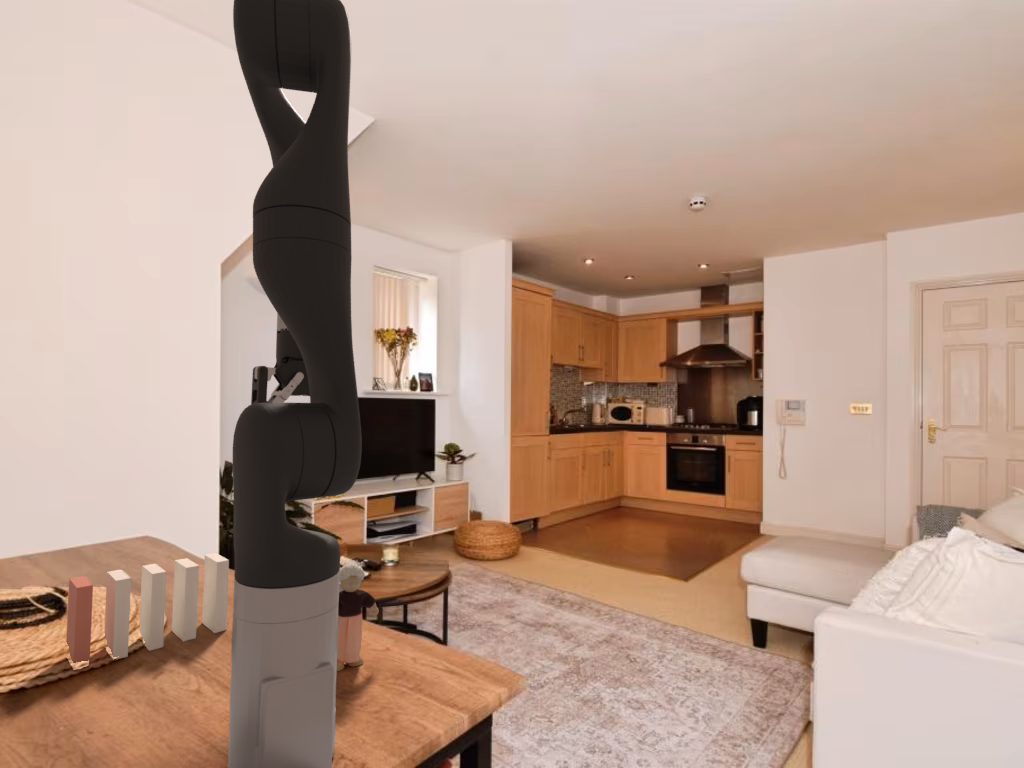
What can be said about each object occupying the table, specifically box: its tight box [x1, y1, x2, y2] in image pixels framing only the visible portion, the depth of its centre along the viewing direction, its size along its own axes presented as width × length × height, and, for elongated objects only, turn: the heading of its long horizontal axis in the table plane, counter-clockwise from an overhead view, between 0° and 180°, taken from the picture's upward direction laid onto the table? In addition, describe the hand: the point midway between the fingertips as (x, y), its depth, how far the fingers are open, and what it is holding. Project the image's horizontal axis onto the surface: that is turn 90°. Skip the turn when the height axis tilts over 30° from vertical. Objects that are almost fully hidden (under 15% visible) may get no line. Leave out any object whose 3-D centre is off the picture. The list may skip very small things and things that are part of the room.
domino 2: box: [103, 569, 132, 660], centre depth 73 cm, size 5×2×10 cm, turn 47°
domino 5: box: [201, 552, 230, 634], centre depth 82 cm, size 5×2×10 cm, turn 47°
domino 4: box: [171, 557, 200, 642], centre depth 79 cm, size 5×2×10 cm, turn 47°
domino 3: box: [138, 563, 167, 651], centre depth 76 cm, size 5×2×10 cm, turn 47°
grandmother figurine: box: [336, 562, 380, 672], centre depth 72 cm, size 8×4×13 cm, turn 136°
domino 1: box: [65, 575, 94, 663], centre depth 70 cm, size 5×2×10 cm, turn 47°
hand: (300, 437), depth 85 cm, fingers open, 7 cm apart
